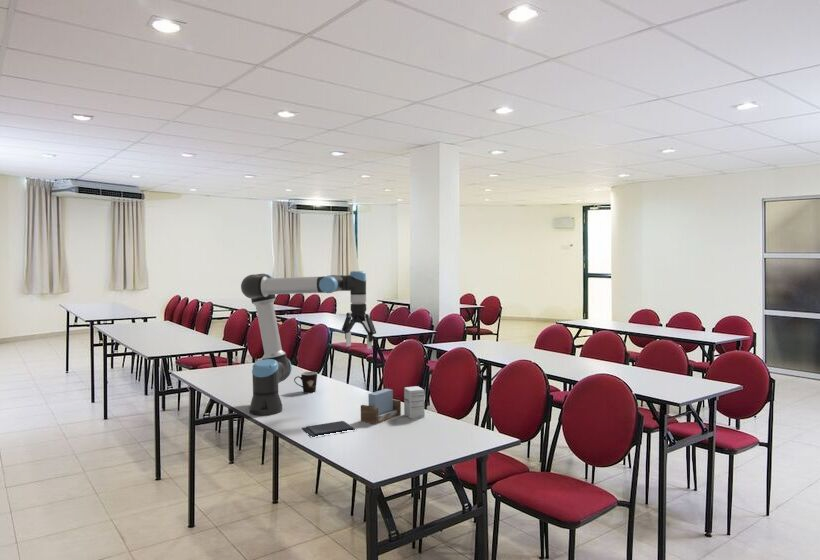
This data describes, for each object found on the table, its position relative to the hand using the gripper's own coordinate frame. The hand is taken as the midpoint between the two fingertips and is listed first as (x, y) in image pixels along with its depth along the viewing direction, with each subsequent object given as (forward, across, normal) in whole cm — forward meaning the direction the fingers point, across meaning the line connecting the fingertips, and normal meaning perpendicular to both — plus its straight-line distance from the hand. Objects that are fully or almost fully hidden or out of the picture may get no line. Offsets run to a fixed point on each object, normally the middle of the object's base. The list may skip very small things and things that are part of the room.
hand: (358, 347), depth 268 cm
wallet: (+30, -14, +34) cm, 47 cm away
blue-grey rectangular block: (+28, -21, +8) cm, 36 cm away
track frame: (+29, -21, +8) cm, 37 cm away
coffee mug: (+29, +43, -5) cm, 52 cm away
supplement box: (+29, -31, -3) cm, 42 cm away
